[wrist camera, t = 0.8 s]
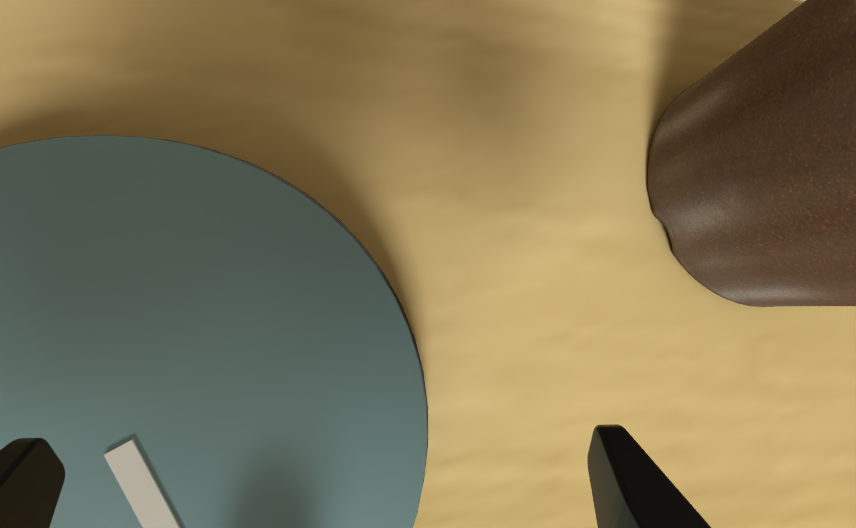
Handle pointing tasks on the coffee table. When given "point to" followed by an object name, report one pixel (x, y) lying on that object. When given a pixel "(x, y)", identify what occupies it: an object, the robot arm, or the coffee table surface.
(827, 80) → the plant pot
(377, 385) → the handwheel
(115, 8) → the coffee table surface
